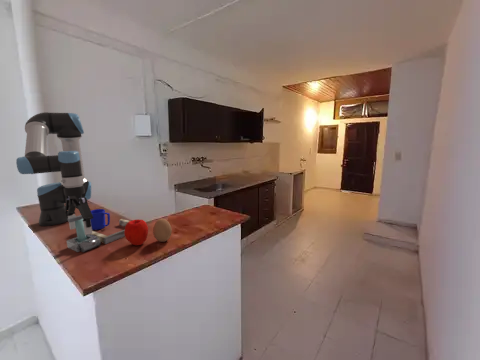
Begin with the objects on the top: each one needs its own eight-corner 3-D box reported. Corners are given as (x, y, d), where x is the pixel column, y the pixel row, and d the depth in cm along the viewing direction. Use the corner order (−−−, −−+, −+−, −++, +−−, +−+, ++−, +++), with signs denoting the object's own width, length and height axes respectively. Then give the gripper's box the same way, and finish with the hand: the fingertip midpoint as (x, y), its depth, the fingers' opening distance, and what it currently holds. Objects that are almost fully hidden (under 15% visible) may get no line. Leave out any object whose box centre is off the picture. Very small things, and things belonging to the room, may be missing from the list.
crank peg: (71, 246, 104) (66, 218, 102) (90, 239, 111) (86, 213, 109) (75, 248, 103) (70, 219, 100) (93, 241, 109) (89, 214, 107)
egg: (163, 246, 104) (161, 222, 102) (150, 243, 108) (147, 220, 106) (176, 239, 112) (174, 216, 110) (163, 236, 115) (161, 214, 113)
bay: (85, 236, 117) (85, 231, 117) (122, 223, 134) (122, 218, 134) (105, 244, 108) (105, 238, 108) (142, 229, 125) (142, 224, 125)
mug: (105, 232, 123) (102, 214, 121) (86, 230, 125) (83, 213, 123) (116, 226, 130) (114, 209, 129) (98, 225, 133) (95, 208, 131)
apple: (125, 251, 101) (122, 224, 98) (126, 242, 110) (123, 217, 107) (149, 246, 104) (147, 221, 102) (149, 238, 113) (146, 214, 111)
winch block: (67, 247, 106) (66, 239, 105) (88, 240, 113) (87, 232, 112) (82, 254, 99) (80, 245, 98) (103, 245, 107) (102, 237, 106)
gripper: (51, 185, 105) (58, 229, 109) (78, 190, 93) (86, 239, 96) (69, 182, 111) (76, 223, 115) (97, 186, 99) (104, 233, 103)
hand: (81, 231), depth 106 cm, fingers open, 13 cm apart
